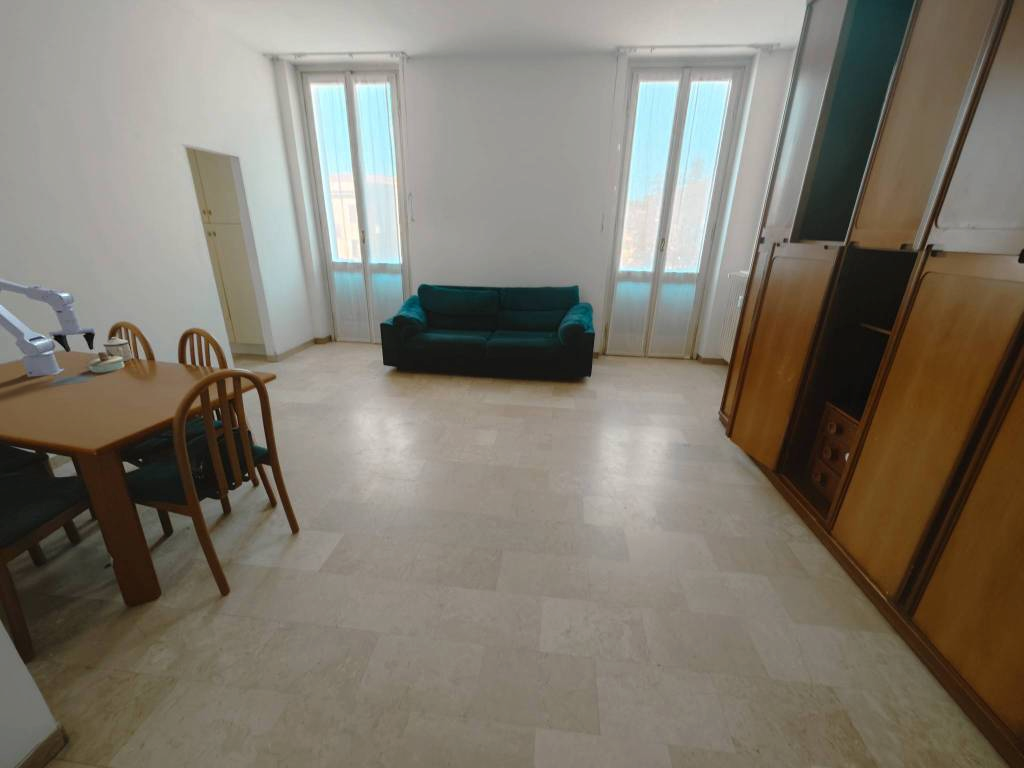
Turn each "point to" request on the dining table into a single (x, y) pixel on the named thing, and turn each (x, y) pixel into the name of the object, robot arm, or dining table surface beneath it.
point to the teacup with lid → (118, 348)
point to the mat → (71, 379)
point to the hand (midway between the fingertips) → (80, 350)
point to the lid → (104, 360)
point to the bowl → (107, 367)
